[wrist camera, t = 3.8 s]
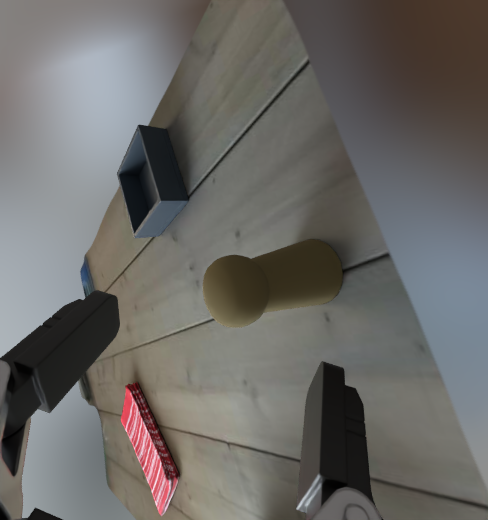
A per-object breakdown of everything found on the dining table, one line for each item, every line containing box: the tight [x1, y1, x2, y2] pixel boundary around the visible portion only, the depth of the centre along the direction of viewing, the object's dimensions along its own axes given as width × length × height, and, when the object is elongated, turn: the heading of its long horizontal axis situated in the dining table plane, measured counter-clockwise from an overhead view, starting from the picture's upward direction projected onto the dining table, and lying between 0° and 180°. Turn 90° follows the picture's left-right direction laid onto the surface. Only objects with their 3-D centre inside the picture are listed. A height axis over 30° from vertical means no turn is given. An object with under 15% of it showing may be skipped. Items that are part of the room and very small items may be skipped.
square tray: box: [117, 125, 189, 238], centre depth 47 cm, size 12×12×4 cm
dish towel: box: [121, 382, 180, 516], centre depth 67 cm, size 17×24×3 cm
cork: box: [203, 239, 343, 328], centre depth 24 cm, size 6×6×11 cm
